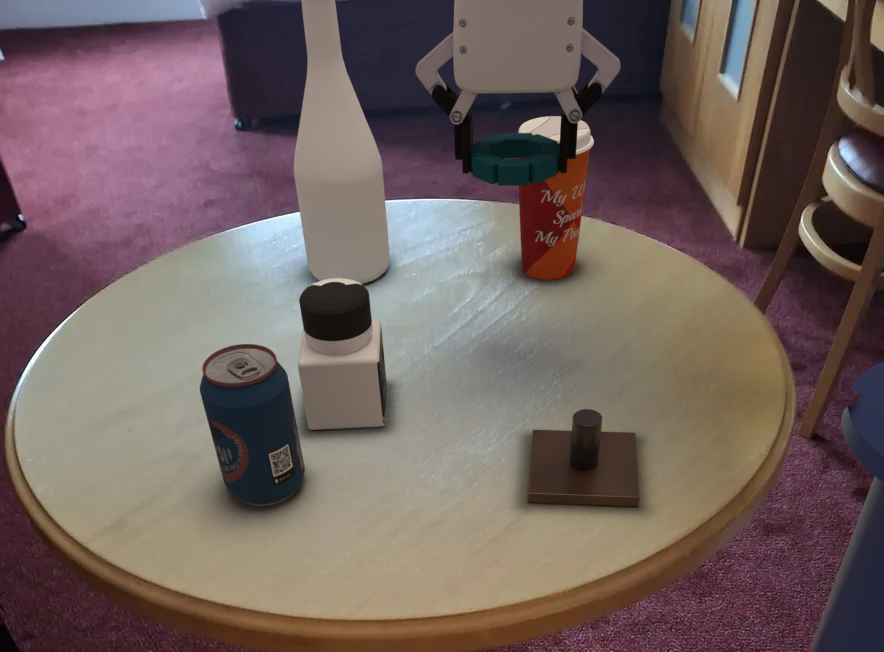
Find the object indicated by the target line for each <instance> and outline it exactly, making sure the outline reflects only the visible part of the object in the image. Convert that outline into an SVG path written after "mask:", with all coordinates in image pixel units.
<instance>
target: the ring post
mask: <svg viewBox="0 0 884 652" xmlns="http://www.w3.org/2000/svg"><path fill="white" fill-rule="evenodd" d="M571 420H572V421H571V422H572V423H571V430H566V429H565V430H563V429H562V430H559V429H532V432H531V433H532V434H531V446H530V447H531V449H530V460H529V461H530V462H529V474H528V475H529V476H528V491H527V503H532V504H555V505H556V504H560V505H584V506H585V505H586V506H608V507H609V506H610V507H611V506H612V507H614V506H615V507H618V506H619V507H634V508H635V507H639V503H640V498H641V497H640V481H639V468H638V467H639V466H638V452H637V451H638V450H637V435H636V434H637V433H636V432H630V431H627V432H625V431H602V427H603V415H602V414H601V413H600V412H599V411H597V410H596V409H590V408H583V409H579V410H577V411H575V412H574V413H573V415H572V419H571Z"/></svg>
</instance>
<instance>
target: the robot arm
mask: <svg viewBox="0 0 884 652" xmlns="http://www.w3.org/2000/svg"><path fill="white" fill-rule="evenodd" d="M583 22H584V0H454V5H453V31H451V33H450V34H449V35H447V36H446V37H445V38H444V39H443V40H442V41H440V42H439V43H438V44H437V45H436V46H435V47H433V49H432V50H431V51H429V52H428V53H427V54H426V55H425V56H423V58H422V59H420V60H419V61H418V63H417V64H416V67H415V71H414V72H415V76H416V77H417V78H418V80H419V81H420V82H421V84H422V85H423V86H424V88H425V90H426V91H427V92H428V93H429V94H430V96H431V98H432V101H433V102H435V104H436V105H437V106H438V107H439V108H440V109H441V110H442V111H443V112H444V113H445V114H446V115H447V116H448V117H449V120H450V122H451V123H452V124H453V128H454V129H453V131H454V133H453V134H454V135H453V136H454V160H456V161H461V163H462V164H461V165H462V174H464V175H467V174H468V175H469V174H470V173H471V151H472V146H473V144H474V115H472V112H471V107H472V105H473V104H474V102H475V100H476V98H477V96H478V94H541V93H543V94H544V93H545V94H546V93H553V94H554V95H555V97H556V100H557V101H558V103H559V105H560V107H561V109H562V111H563V114H562V113H561V114H560V116H561V127H560V150H559V172H561V173H567V159H576V145H577V129H578V122H579V121H580V120H582V118H583V116H584V115H585V114H586V113H587V112H589V110H590V109H591V108H592V107H593V106H594V105H595V104H596V103H597V102H598V101H599V100H600V99H601V97H602V95H603V94H604V93H605V90H607V89H608V88H609V86H610V85H611V84H612V82H613V81H614V80H615V78H616V77H617V75H618V74H619V73H620V72H621V60H620V59H619V57H617V56H616V55H615V54H614V53H613V52H612V51H610V50H609V49H608V48H607V47H606V46H605V45H603V44H602V43H601V42H600V41H598V40H597V38H595V37H594V36H593V35H592V34H590V32H588V31H587V30H586V29H585V28H584V27H583ZM582 56H583V57H585V58H586V59H587V60H588V61H590V62H591V63H592V64H593V65H594V66H595V67H596V68H597V71H595V74H594V75H593V77H592V78H591V79H590V80H589V81H587V83H586V84H585V85H584V86H583V87H582V88H581V89H580V90H579V91H577V89H576V87H575V85H577V82H578V80H579V75H580V68H581V60H582ZM451 59H452V61H453V64H452V65H453V77H454V81H455V85H456V86H457V87H458V88H459V91H458V93H456V92H455V91H454V90H453V89H452V88H451V87H450V86H449V84H447V83H446V82H445V81H444V80H443V79H442V78H441V77H442V76H441V75H440V74H439V71H438V70H439V69H440V68H442V66H444V65H445V64H446V63H447V62H449V60H451Z"/></svg>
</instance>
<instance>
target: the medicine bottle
mask: <svg viewBox="0 0 884 652" xmlns="http://www.w3.org/2000/svg"><path fill="white" fill-rule="evenodd" d="M298 302H299V309H300V315H301V321H302V326H303V329H302V335H301V341H300V347H299V353H298V358H297V369H298V376H299V381H300V387H301V388H300V389H301V393H302V399H303V404H304V411H305V416H306V422H307V427H308V429H309V430H311V431H316V430H339V429H359V428H360V429H361V428H380V427H384V426H385V425H386V417H387V416H386V415H387V414H386V413H387V389H388V388H387V387H388V383H387V371H386V362H385V350H384V341H383V340H384V339H383V330H382V323H381V321H380V320H379V319H372V310H371V301H370V292H369V289H367V287H366V286H365V285H364V284H361V283H359V282H357V281H354V280H350V279H343V278H332V279H326V280H322V281H319V280H318V281H317V282H313V283H311V284H309V285H308V286H307V287H306V288H305V289H304V290H303V291H302V293H300V295H299V298H298Z"/></svg>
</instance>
